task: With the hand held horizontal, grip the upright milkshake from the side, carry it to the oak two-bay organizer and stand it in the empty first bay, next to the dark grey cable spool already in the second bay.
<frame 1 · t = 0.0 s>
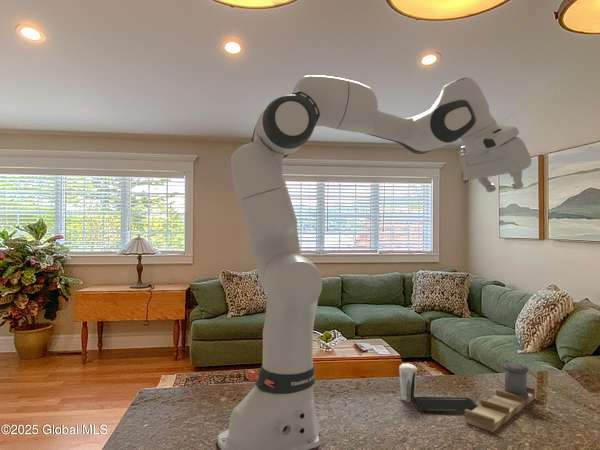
hand: (504, 189, 104), 54 cm above the countertop, tool tilted 30°, fingers open, 8 cm apart
organizer: (502, 409, 101), on the countertop
phone: (445, 409, 102), on the countertop
spool: (515, 393, 107), point 1 cm above the countertop, touching organizer
milkshake: (409, 400, 107), on the countertop
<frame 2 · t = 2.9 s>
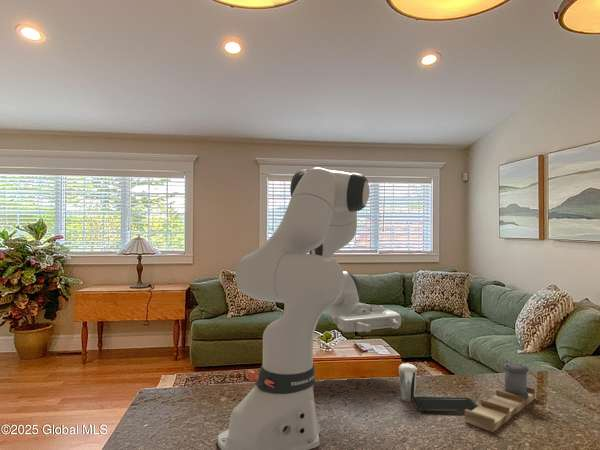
hand: (383, 327, 118), 16 cm above the countertop, tool horizontal, fingers open, 8 cm apart
nothing on the countertop moved.
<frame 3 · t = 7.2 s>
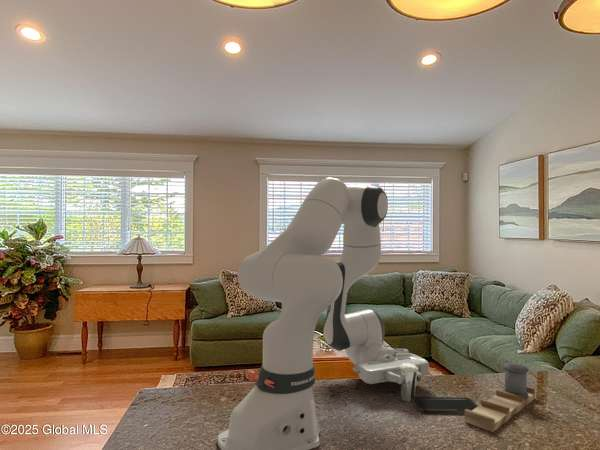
hand: (411, 379, 106), 6 cm above the countertop, tool horizontal, fingers closed on milkshake, 4 cm apart
milkshake: (409, 400, 107), on the countertop, touching gripper
everything else where it was.
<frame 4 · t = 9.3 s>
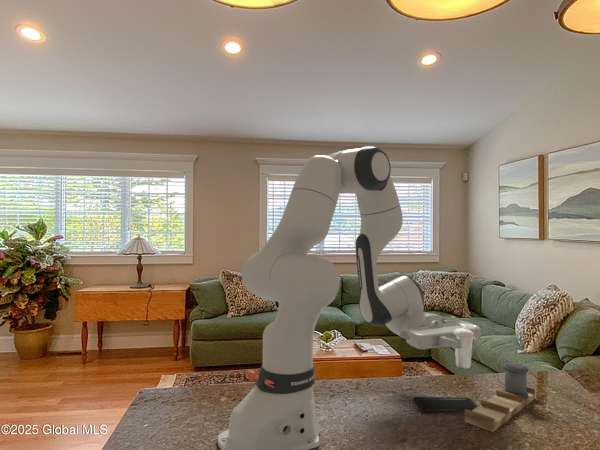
hand: (467, 343, 98), 17 cm above the countertop, tool horizontal, fingers closed on milkshake, 4 cm apart
milkshake: (465, 367, 99), point 11 cm above the countertop, touching gripper
everything else where it was.
when the fingers open (8 cm above the countertop, at t = 11.7 s): milkshake drops 1 cm, resting on organizer.
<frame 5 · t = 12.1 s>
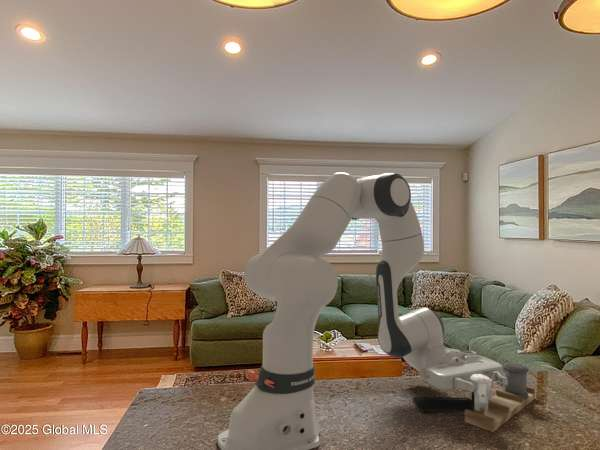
hand: (490, 385, 95), 8 cm above the countertop, tool horizontal, fingers open, 8 cm apart
milkshake: (481, 415, 95), point 1 cm above the countertop, touching gripper, organizer
everything else where it was.
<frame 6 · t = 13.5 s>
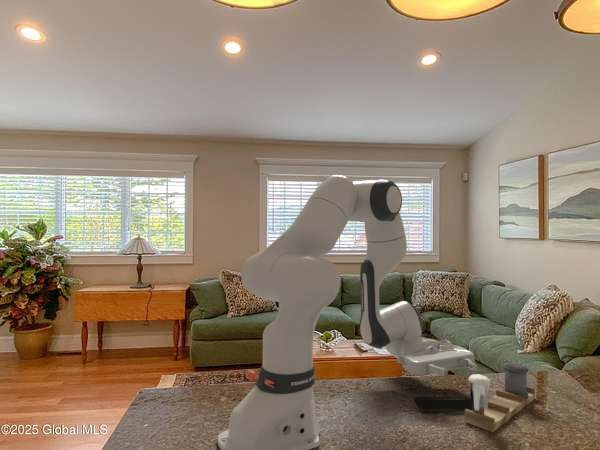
hand: (460, 370, 103), 9 cm above the countertop, tool horizontal, fingers open, 8 cm apart
milkshake: (481, 415, 95), point 1 cm above the countertop, touching organizer
everything else where it was.
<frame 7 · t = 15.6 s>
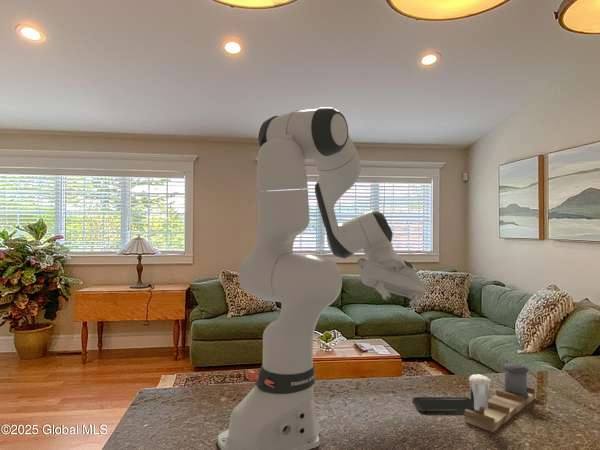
hand: (401, 302, 109), 25 cm above the countertop, tool tilted 55°, fingers open, 8 cm apart
nothing on the countertop moved.
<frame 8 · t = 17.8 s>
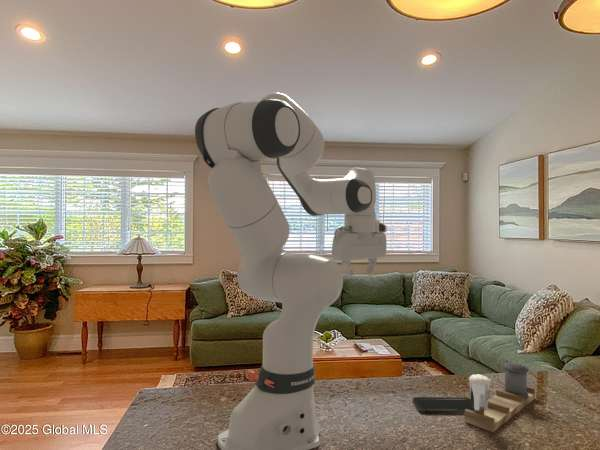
hand: (359, 275, 116), 31 cm above the countertop, tool pointing down, fingers open, 8 cm apart
nothing on the countertop moved.
at the end: milkshake inside the target area on the organizer (1.7 cm from its centre), point 1.3 cm above the organizer's base; milkshake tilted 0°; the gripper is holding nothing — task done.
